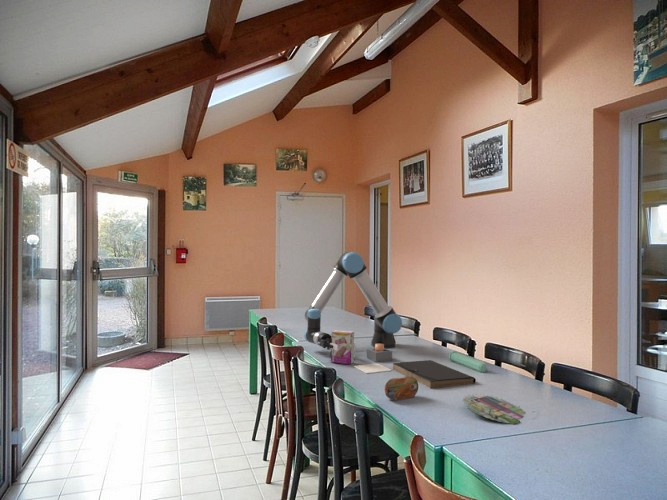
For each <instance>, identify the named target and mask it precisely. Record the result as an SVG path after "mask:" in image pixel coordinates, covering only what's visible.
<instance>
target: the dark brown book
mask: <svg viewBox="0 0 667 500" xmlns="http://www.w3.org/2000/svg"><path fill="white" fill-rule="evenodd" d="M393 370H394V371H395V372H397V373H399V374H401V375H403V376H404V377H405V376H410V377H414V378H415V379H416V380H417V382H418V383H420V384H422V385H424V386H425V387H427V388H430V389H440V388H448V387H455V386H463V385H471V384H472V385H473V384H476V381H477V380H476V378H475V377H474V376H471V375H469V374H466V373H463V372H461V371H459V370H457V369H454V368H452V367H449V366H447V365H444V364H441V363H439V362H437V361H434V360H431V359H429V360H414V361H412V360H411V361H401V362H393V363H392V371H393Z"/></svg>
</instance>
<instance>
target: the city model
mask: <svg viewBox="0 0 667 500" xmlns="http://www.w3.org/2000/svg"><path fill="white" fill-rule="evenodd" d="M462 402H463V403H464V405H466V408H467V409H468V410H470V411H472V412H474V413H475V414H476V415H479V416H480V417H484V418H486V419H490V420H492V421H497V422H500V423H506V424H511V425H514V424H515V425H517V424H518V423H520V422H521V420H522V419H523V418H524V417H525V415H526V411H524V410H522V408H520V407H521V406H520V405H519V406H517V405H515V404H513V403H511V402H509V401H507V400H505V399H503V398H498V397H497V396H496V397H495V396H493V395H492V396H491V395H485V394H476V393H475V394H469V395H466V396H464V398H463V399H462Z"/></svg>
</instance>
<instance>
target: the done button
mask: <svg viewBox="0 0 667 500" xmlns="http://www.w3.org/2000/svg"><path fill="white" fill-rule="evenodd" d="M374 348H375V351H377V352H378V351H384V344H375V347H374Z"/></svg>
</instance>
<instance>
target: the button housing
mask: <svg viewBox="0 0 667 500" xmlns="http://www.w3.org/2000/svg"><path fill="white" fill-rule="evenodd" d="M366 359H368V360H370V361H373V362H375V363H380V362H381V363H382V362H391V361H393V351H392V350H390V349H389V348H384V351H378V352H377V351H375V347H373V348H372V347H371V348H366Z"/></svg>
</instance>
